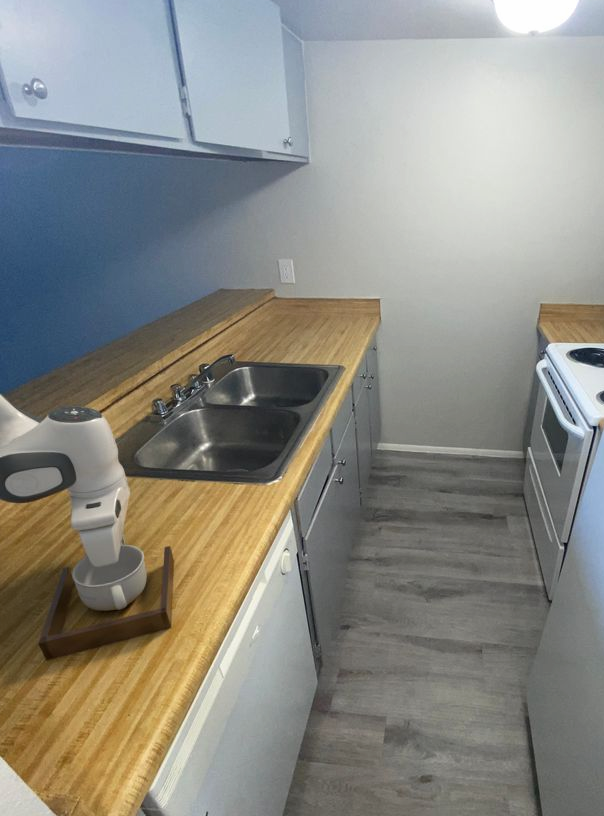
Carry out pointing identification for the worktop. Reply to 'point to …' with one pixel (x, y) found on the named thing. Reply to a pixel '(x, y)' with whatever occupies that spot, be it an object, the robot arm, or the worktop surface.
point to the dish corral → (106, 632)
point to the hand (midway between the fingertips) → (119, 550)
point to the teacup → (111, 580)
